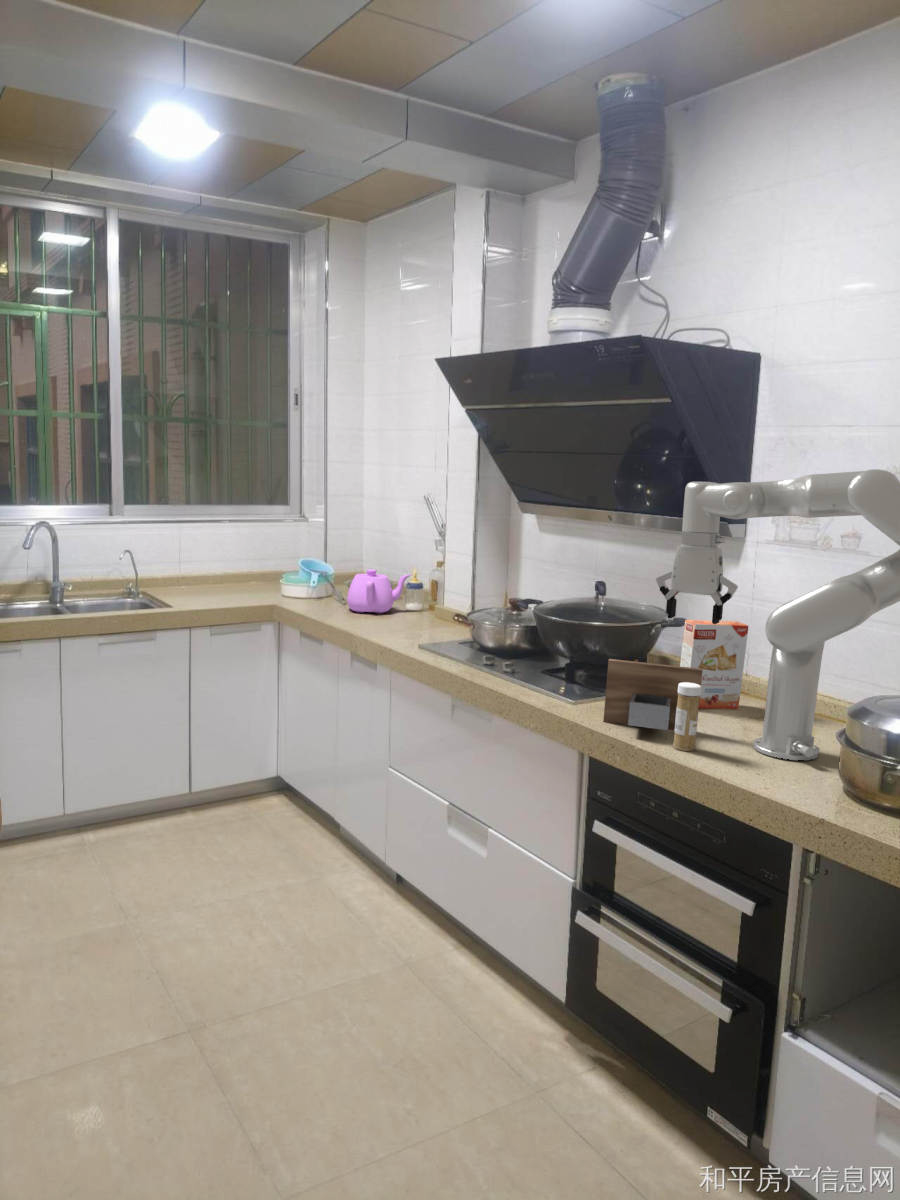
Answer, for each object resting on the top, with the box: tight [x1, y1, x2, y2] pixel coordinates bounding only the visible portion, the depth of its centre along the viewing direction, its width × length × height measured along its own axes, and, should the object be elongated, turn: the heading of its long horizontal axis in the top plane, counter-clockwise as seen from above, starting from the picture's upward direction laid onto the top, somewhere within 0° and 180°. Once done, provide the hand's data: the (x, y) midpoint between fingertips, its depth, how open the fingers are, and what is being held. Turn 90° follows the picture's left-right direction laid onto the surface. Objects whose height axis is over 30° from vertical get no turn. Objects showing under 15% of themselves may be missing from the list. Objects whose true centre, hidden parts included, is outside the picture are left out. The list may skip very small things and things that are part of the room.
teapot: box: [346, 568, 412, 615], centre depth 327 cm, size 23×21×15 cm
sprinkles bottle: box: [672, 682, 701, 752], centre depth 185 cm, size 5×5×14 cm
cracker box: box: [679, 619, 749, 710], centre depth 219 cm, size 14×6×21 cm, turn 101°
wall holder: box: [603, 658, 703, 732], centre depth 195 cm, size 11×20×14 cm, turn 75°
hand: (693, 620), depth 195 cm, fingers open, 9 cm apart
